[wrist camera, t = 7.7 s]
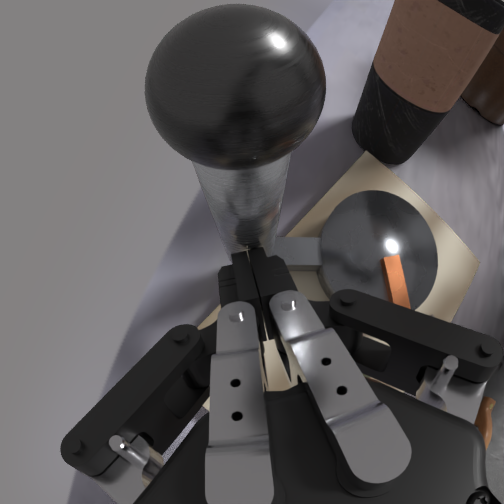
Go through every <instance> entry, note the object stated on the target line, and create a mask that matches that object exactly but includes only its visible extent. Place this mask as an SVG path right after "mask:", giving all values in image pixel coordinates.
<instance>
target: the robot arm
mask: <svg viewBox="0 0 504 504" xmlns="http://www.w3.org/2000/svg"><path fill="white" fill-rule="evenodd" d="M248 256H249V258H248ZM231 257H232V263H233V264H232V265H228V266H223V267H221V269H220V271H219V273H218V281H219V293H220V304H221V310H220V311H219V313H218V316H217V320H216V321H215V322H214V323H212V324H211V325H209V326H207V327H205V328H203V329H200V330H198V328H197V327H195V326H193V325H189V324H184V325H179V326H176V327H174V328H172V329H171V330H169V331H168V332H167V333H166V334H165V335H164V336H163V337H162V338H161V339H160V340H159V341H158V342H157V343H156V344H155V345H154V346H153V347H152V348H151V349H150V350H149V351H148V352H147V353H146V355H145V356H144V357H143V358H142V359H141V360H140V361H139V362H138V363H137V364H136V365H135V366H134V367H133V368H132V369H131V370H130V371H129V372H128V373H127V374H126V375H125V376H124V377H123V378H122V379H121V380H120V381H119V382H118V383H117V384H116V385H115V386H114V387H113V388H112V389H111V390H110V391H109V392H108V393H107V394H106V395H105V396H104V397H103V398H102V399H101V400H100V401H99V402H98V403H97V404H96V405H95V406H94V407H93V408H92V409H91V410H90V411H89V412H88V413H87V414H86V416H84V417H83V418H82V420H81V421H79V422H78V423H77V424H76V426H75V427H74V428H73V429H72V430H71V431H70V432H69V433H68V434H67V435H66V436H65V437H64V439H63V440H62V443H61V455H62V457H63V459H64V461H65V462H66V463H67V464H69V465H71V466H72V467H74V468H75V469H77V470H79V471H80V472H81V473H82V474H84V475H85V476H87V477H89V478H91V479H92V480H94V481H95V482H96V483H97V484H98V485H99V486H100V487H101V488H102V489H103V490H104V491H105V492H106V493H107V494H108V495H109V496H110V497H111V498H112V499H113V500H114V501H115V502H116V503H117V504H502V503H501V502H500V501H499V500H498V499H497V498H496V497H495V496H494V495H493V494H492V492H491V491H490V489H489V486H488V482H487V477H486V446H485V441H484V438H483V436H482V434H481V432H480V431H479V430H478V428H477V427H476V426H475V425H474V422H475V419H476V416H477V413H478V410H479V407H480V403H481V400H482V396H483V392H484V388H485V385H486V383H487V381H488V380H489V378H490V377H491V375H492V374H493V373H494V371H495V369H496V368H497V366H498V365H499V363H500V362H501V360H502V357H503V351H502V347H501V345H500V344H499V342H498V341H497V340H495V339H494V338H492V337H490V336H488V335H485V334H482V333H479V332H476V331H473V330H470V329H467V328H464V327H461V326H459V325H456V324H453V323H450V322H447V321H444V320H441V319H438V318H435V317H432V316H429V315H427V314H424V313H421V312H418V311H415V310H412V309H409V308H406V307H403V306H400V305H397V304H395V303H392V302H389V301H386V300H383V299H380V298H377V297H374V296H371V295H369V294H366V293H363V292H360V291H357V290H353V289H343V290H339V291H337V292H335V293H334V294H333V295H332V296H331V297H330V300H329V301H312V300H308V299H307V298H306V297H305V295H303V294H302V293H300V292H299V291H298V289H297V287H296V285H295V283H294V281H293V278H292V276H291V274H290V273H289V270H288V268H287V266H286V264H285V262H284V260H283V259H282V258H280V257H279V256H277V255H274V256H269V257H267V256H266V253H265V251H264V248H263V247H261V248H256V249H251V250H248V255H247V251H242V252H237V253H233V254H231ZM249 261H250V262H249ZM264 324H265V326H264ZM265 328H266V331H265ZM266 332H267V336H268V339H269V340H272V339H274V340H275V344H276V349H277V354H278V357H279V360H280V362H281V365H282V367H283V370H284V372H285V375H286V377H287V380H288V382H289V385H290V387H291V388H289V389H287V390H284V391H269V385H268V377H267V370H266V363H265V356H264V353H265V348H264V343H263V342H264V341H267V337H266ZM363 333H364V334H367V335H369V336H371V337H374V338H377V339H379V340H382V341H384V342H386V343H387V344H388V345H389V346H388V345H385V344H383V343H380V342H378V341H375V340H373V339H370V338H368V337H365V336H363ZM362 373H363V374H365V375H367V376H370V377H372V378H374V379H377V380H379V381H381V382H383V383H386V384H388V385H390V386H393V387H395V388H398V389H400V390H402V391H405V392H407V393H410V394H412V395H415V396H416V398H417V399H416V398H413V397H411V396H409V395H407V394H405V393H402V392H400V391H398V390H396V389H394V388H392V387H389V386H387V385H385V384H383V383H381V382H379V381H377V380H374V379H371V378H368V377H364V376H363V374H362ZM209 397H210V408H209V412H208V413H207V414H205V415H204V416H203V417H202V418H201V419H200V420H199V421H198V422H197V423H196V424H195V425H194V426H193V428H192V429H191V430H190V432H189V433H188V434H187V436H186V437H185V438H184V440H183V441H182V442H181V444H180V445H179V446H178V448H177V449H176V450H175V452H174V453H173V454H172V456H171V457H170V458H169V459H168V461H167V462H166V463H165V465H164V466H163V458H162V455H163V453H164V452H165V451H166V450H167V449H168V448H169V446H170V445H171V444H172V443H173V442H174V440H175V439H176V438H177V437H178V435H179V434H180V433H181V432H182V431H183V429H184V428H185V427H186V426H187V424H188V423H189V422H190V421H191V419H192V418H193V417H194V416H195V414H196V413H197V412H198V411H199V409H200V408H201V407H202V406H203V404H204V403H205V402H206V401H207V399H208V398H209Z"/></svg>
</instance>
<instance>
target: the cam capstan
mask: <svg viewBox="0 0 504 504" xmlns="http://www.w3.org/2000/svg"><path fill="white" fill-rule="evenodd" d="M325 95H326V76H325V71H324V67H323V63H322V60H321V58H320V55H319V53H318V51H317V49H316V47H315V46H314V44H313V43H312V41H311V40H310V38H309V37H308V36H307V34H306V33H305V32H303V31H302V30H301V29H300V28H299V27H298V26H297V25H296V24H295V23H293V22H292V21H290V20H289V19H287V18H286V17H284V16H283V15H281V14H279V13H276V12H274V11H271V10H269V9H266V8H263V7H259V6H253V5H246V4H227V5H220V6H215V7H211V8H208V9H205V10H202V11H199V12H197V13H195V14H193V15H191V16H189V17H188V18H186V19H184V20H183V21H181V22H180V23H179V24H177V25H176V26H175V27H174V28H173V29H172V30H171V31H170V32H168V33H167V34H166V35H165V37H164V38H163V39H162V41H161V42H160V43H159V45H158V46H157V48H156V49H155V51H154V53H153V56H152V58H151V60H150V62H149V65H148V70H147V73H146V77H145V98H146V104H147V109H148V112H149V115H150V118H151V120H152V122H153V124H154V126H155V128H156V130H157V131H158V133H159V134H160V135H161V137H162V138H163V139H164V140H165V141H166V142H167V143H168V144H169V145H170V146H171V147H172V148H173V149H174V150H176V151H177V152H178V153H180V154H181V155H182V156H184V157H185V158H187V159H189V160H191V161H192V163H193V165H194V168H195V171H196V174H197V176H198V179H199V182H200V184H201V187H202V190H203V192H204V195H205V198H206V200H207V203H208V205H209V208H210V211H211V213H212V216H213V219H214V221H215V224H216V226H217V229H218V231H219V234H220V237H221V239H222V242H223V244H224V247H225V249H226V252H227V254H228V257H229V259H230V261H231V262H232V257H231V254H233V253H237V252H242V251H247V255H248V250H251V249H256V248H261V247H263V248H264V251H265V253H266V256H267V257H269V256H274V255H277V256H279V257H280V258H282V259H283V260H284V262H285V264H286V266H287V268H288V270H289V271H316V274H317V277H318V280H319V283H320V285H321V287H322V289H323V291H324V293H325V294H326V295H327V297H328V298H329V300H330V297H331V296H332V295H333V294H334V293H335V292H337V291H339V290H343V289H353V290H357V291H360V292H363V293H366V294H369V295H371V296H374V297H377V298H380V299H383V300H386V301H389V302H392V303H395V304H397V305H400V306H403V307H406V308H409V309H412V310H416V309H417V308H418V307H420V305H421V304H422V303H423V302H424V301H425V300H426V298H427V297H428V296H429V294H430V292H431V290H432V288H433V286H434V283H435V280H436V276H437V270H438V253H437V247H436V243H435V239H434V236H433V234H432V231H431V229H430V227H429V225H428V224H427V222H426V220H425V219H424V218H423V216H422V215H421V214H420V213H419V211H418V210H417V209H416V208H415V207H414V206H412V205H411V204H410V203H409V202H407V201H406V200H404V199H403V198H401V197H399V196H397V195H395V194H392V193H389V192H385V191H379V190H367V191H361V192H358V193H355V194H352V195H350V196H348V197H347V198H345V199H344V200H343V201H341V202H340V203H339V204H338V205H337V206H336V207H335V209H334V210H333V211H332V213H331V214H330V216H329V217H328V219H327V221H326V222H325V224H324V226H323V227H322V229H321V231H320V233H319V236H318V238H315V237H276V232H277V227H278V221H279V216H280V211H281V205H282V200H283V195H284V189H285V184H286V178H287V173H288V167H289V162H290V156H291V152H292V151H293V150H294V149H296V148H297V147H298V146H299V145H300V144H301V143H302V142H303V141H304V140H305V139H306V138H307V137H308V135H309V134H310V133H311V131H312V130H313V128H314V127H315V125H316V123H317V121H318V119H319V117H320V115H321V112H322V109H323V105H324V101H325ZM248 258H249V256H248ZM249 262H250V261H249ZM232 264H233V263H232Z"/></svg>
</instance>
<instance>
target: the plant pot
mask: <svg viewBox="0 0 504 504" xmlns="http://www.w3.org/2000/svg"><path fill="white" fill-rule="evenodd" d="M461 96H462V98H463V99H464V100H465V101H466V102H467V103H468V104H469V105H470V106H471V107H475V108H476V109H478V111H479V112H480V115H481V116H483V117H484V118H486V119H487V120H489V121H490V122H492V123H495V124H499V125H502V124H504V27H503V29H502V31H501V33H500V34H499V36H498V38H497V39H496V41H495V43H494V44H493V46H492V48H491V49H490V51H489V53H488V54H487V56H486V57H485V59H484V61H483V62H482V64H481V65H480V67H479V68H478V70H477V71H476V73H475V75H474V76H473V78H472V79H471V81H470V82H469V84H468V85H467V87H466V88H465V89H464V91H463V92H462V94H461Z"/></svg>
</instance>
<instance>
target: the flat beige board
mask: <svg viewBox="0 0 504 504" xmlns="http://www.w3.org/2000/svg"><path fill="white" fill-rule="evenodd" d="M367 190H379V191H385V192H389V193H392V194H395V195H397V196H399V197H401V198H403V199H404V200H406V201H407V202H409V203H410V204H411V205H412V206H414V207H415V208H416V209H417V210H418V211H419V213H420V214H421V215H422V216H423V218H424V219H425V220H426V222H427V224H428V225H429V227H430V229H431V231H432V234H433V236H434V239H435V243H436V247H437V253H438V270H437V276H436V280H435V283H434V286H433V288H432V290H431V292H430V294H429V296H428V297H427V298H426V300H425V301H424V302H423V303H422V304H421V305H420V307H418V308H417V309H416V310H415V311H418V312H421V313H424V314H427V315H429V316H432V317H435V318H438V319H441V320H444V321H447V322H450V323H451V321H452V319H453V317H454V315H455V314H456V312H457V310H458V308H459V306H460V304H461V302H462V300H463V298H464V296H465V294H466V292H467V290H468V288H469V286H470V284H471V282H472V280H473V278H474V276H475V273H476V271H477V269H478V267H479V264H480V262H479V260H478V259H477V258H476V257H475V256H474V254H473V253H472V252H471V251H470V250H469V248H468V247H467V246H466V245H465V244H464V243H463V241H462V240H461V239H460V238H459V237H458V236H457V235H456V234H455V233H454V231H453V230H452V229H451V228H450V227H449V226H448V225H447V224H446V223H445V222H444V221H443V220H442V219H441V218H440V217H439V216H438V215H437V213H436V212H435V211H434V210H433V209H432V208H431V207H430V206H429V205H428V204H427V203H425V202H424V201H423V200H422V199H421V198H420V197H419V196H418V195H417V194H416V193H415V192H414V191H413V190H412V189H411V188H410V187H409V186H407V185H406V184H405V183H404V182H403V181H402V180H401V179H400V178H399V177H397V176H396V175H395V174H394V173H393V172H392V171H391V170H389V169H388V168H387V167H386V166H385V165H383V164H382V163H381V162H380V161H379V160H377V159H376V158H375V157H374V156H373V155H371V154H370V153H369V152H368V151H365V152H364V153H363V154H362V155H361V157H360V158H359V159H358V160H357V161H356V162H355V163H354V164H353V165H352V166H351V167H350V168H349V169H348V171H347V172H346V173H345V174H344V175H343V176H342V177H341V178H340V179H339V180H338V181H337V182H336V183H335V184H334V186H333V187H332V188H331V189H330V190H329V191H328V192H327V193H326V194H325V195H324V196H323V197H322V198H321V199H320V200H319V201H318V203H317V204H316V205H315V206H314V207H313V208H312V209H311V210H310V211H309V212H308V213H307V214H306V215H305V216H304V217H303V218H302V219H301V220H300V222H299V223H298V224H297V225H296V226H295V227H294V228H293V229H292V230H291V231H290V232H289V233H288V234H287V235H286V236H285V237H315V238H318V236H319V233H320V231H321V229H322V227H323V226H324V224H325V222H326V221H327V219H328V217H329V216H330V214H331V213H332V211H333V210H334V209H335V207H336V206H337V205H338V204H339V203H340V202H341V201H343V200H344V199H345V198H347V197H348V196H350V195H352V194H355V193H358V192H361V191H367ZM289 273H290V274H291V276H292V278H293V281H294V283H295V285H296V287H297V289H298V291H299V292H300V293H302V294H303V295H305V297H306V298H307V299H308V300H312V301H329V298H328V297H327V295H326V294H325V293H324V291H323V289H322V287H321V285H320V283H319V280H318V277H317V274H316V271H289ZM220 310H221V304H220V305H219V306H218V307H217V308H216V309H215V310H214V311H213V312H212V313H211V314H210V315H209V316H208V317H207V318H206V319H205V320H204V321H203V322H202V323H201V324H200V325H199V326H198V327H197V328H198V330H200V329H203V328H205V327H207V326H209V325H211V324H212V323H214V322H215V321H216V320H217V316H218V313H219V311H220ZM264 326H265V324H264ZM265 331H266V328H265ZM363 336H365V337H368V338H370V339H373V340H375V341H378V342H380V343H383V344H385V345H388V344H387V343H386V342H384V341H382V340H379V339H377V338H374V337H371V336H369V335H367V334H364V333H363ZM266 337H267V341H264V342H263V343H264V348H265V353H264V356H265V363H266V370H267V377H268V385H269V391H284V390H287V389H289V388H291V387H290V385H289V382H288V380H287V377H286V375H285V372H284V370H283V367H282V365H281V362H280V360H279V357H278V354H277V349H276V344H275V340H274V339H272V340H269V339H268V336H267V332H266ZM388 346H389V345H388ZM362 374H363V373H362ZM363 376H364V377H368V378H371V379H374V378H372V377H370V376H367V375H365V374H363ZM374 380H377V379H374ZM377 381H379V380H377ZM379 382H381V381H379ZM381 383H383V382H381ZM383 384H385V385H387V386H389V387H392V388H394V389H396V390H398V391H400V392H402V393H404V392H405V391H402V390H400V389H398V388H395V387H393V386H390V385H388V384H386V383H383ZM203 406H204V407H205V408H206V409H207V410H208V411H209V408H210V397H209V398H208V399H207V401H206V402H205V403H204V404H203Z"/></svg>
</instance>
